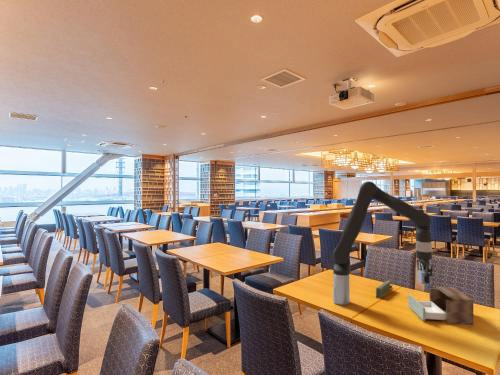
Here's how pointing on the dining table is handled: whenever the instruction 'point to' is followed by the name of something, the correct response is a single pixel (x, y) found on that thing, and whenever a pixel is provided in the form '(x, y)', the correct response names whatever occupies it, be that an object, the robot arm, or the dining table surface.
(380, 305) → the dining table surface
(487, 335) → the dining table surface
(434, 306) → the tray
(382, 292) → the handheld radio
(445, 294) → the open wooden box
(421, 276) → the slate block
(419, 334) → the dining table surface
